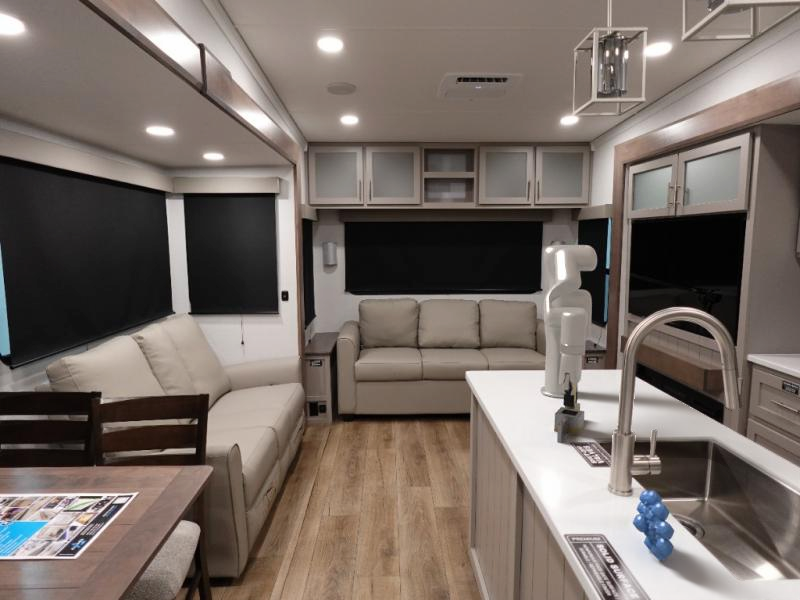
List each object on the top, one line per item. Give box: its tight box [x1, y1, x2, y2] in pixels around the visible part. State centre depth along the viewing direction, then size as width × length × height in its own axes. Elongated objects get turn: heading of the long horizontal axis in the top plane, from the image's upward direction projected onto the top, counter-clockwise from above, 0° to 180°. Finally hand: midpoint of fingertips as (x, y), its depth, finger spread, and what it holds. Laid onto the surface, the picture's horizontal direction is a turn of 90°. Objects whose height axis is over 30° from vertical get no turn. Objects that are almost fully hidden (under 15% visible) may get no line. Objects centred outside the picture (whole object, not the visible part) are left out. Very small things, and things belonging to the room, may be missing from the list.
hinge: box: [553, 402, 585, 444], centre depth 155 cm, size 24×8×6 cm, turn 146°
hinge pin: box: [564, 383, 577, 409], centre depth 154 cm, size 3×3×9 cm
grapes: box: [632, 489, 675, 562], centre depth 94 cm, size 12×7×12 cm, turn 177°
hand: (570, 404), depth 154 cm, fingers closed on hinge pin, 3 cm apart
